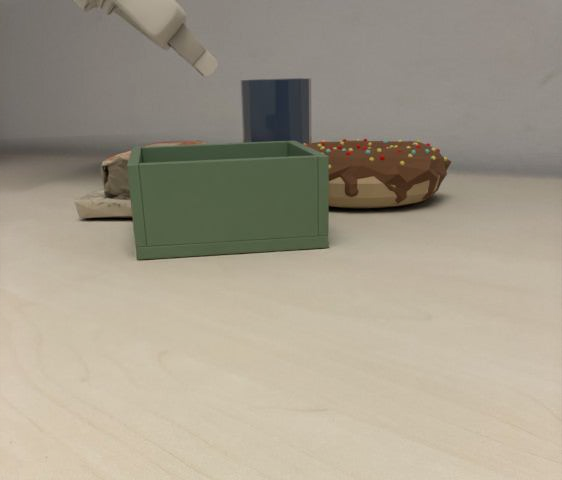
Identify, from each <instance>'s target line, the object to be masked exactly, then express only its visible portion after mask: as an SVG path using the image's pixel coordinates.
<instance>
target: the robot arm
mask: <svg viewBox="0 0 562 480" xmlns="http://www.w3.org/2000/svg"><path fill="white" fill-rule="evenodd" d="M72 1H73V2H74V3H75V5H77V6H78V7H79V8H80V9H81V10H82V11H83V12H84V13H86V12H90V11H91V10H92V9H98V8H99V9H101V11H102V12H103V13H104V14H105V15H107V16H110V15H111V14H113V13H114V14H116V15H118V16H119V17H120V18H121V19H123V20H124V21H125V22H127V23H128V24H129V25H130V26H132V27H133V28H134V29H136V31H138V32H139V33H140V34H142V35H143V36H145V37H146V38H147V39H148V40H149V41H151V42H152V43H154V44H155V45H156V46H158V47H159V48H161V50H164V51H169V50H170V49H172V50H173V51H174V52H176V54H178V56H179V57H181V58H182V59H183V60H184V61H186V63H188V64H189V65H191V67H193V68H194V69H195V70H196V71H197V72H198V74H200V75H201V76H203V77H205V78H210V77H211V76H212V75H213V74H214V73H215V71H216V70H217V69H218V68H219V62H218V60H217V59H216V58H215V57H214V56H213V55H212V54H211V53H210V52H209V51H208V50H207V49H206V48H205V46H204V45H203V44H202V43H201V41H200V40H199V39H198V38H197V37H196V35H195V34H194V33H193V32H192V31H191V30H190V29H189V28H188V27H187V13H186V11H185V9H183V7H182V6H181V5H180V4H179V3H178V1H177V0H72Z"/></svg>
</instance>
